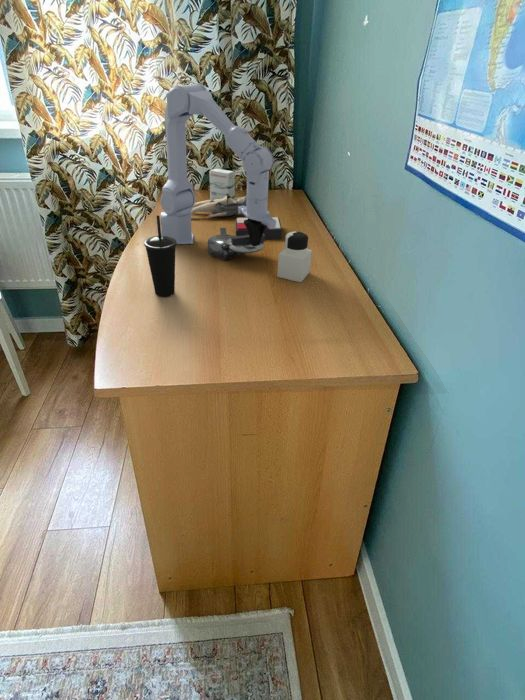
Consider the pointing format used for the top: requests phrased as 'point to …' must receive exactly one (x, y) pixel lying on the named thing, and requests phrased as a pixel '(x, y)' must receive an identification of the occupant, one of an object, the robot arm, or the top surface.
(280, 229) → the calculator
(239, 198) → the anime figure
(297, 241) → the medicine bottle
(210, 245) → the pot
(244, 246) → the lid
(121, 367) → the top surface
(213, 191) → the ink box
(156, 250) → the drinking cup
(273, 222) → the robot arm
